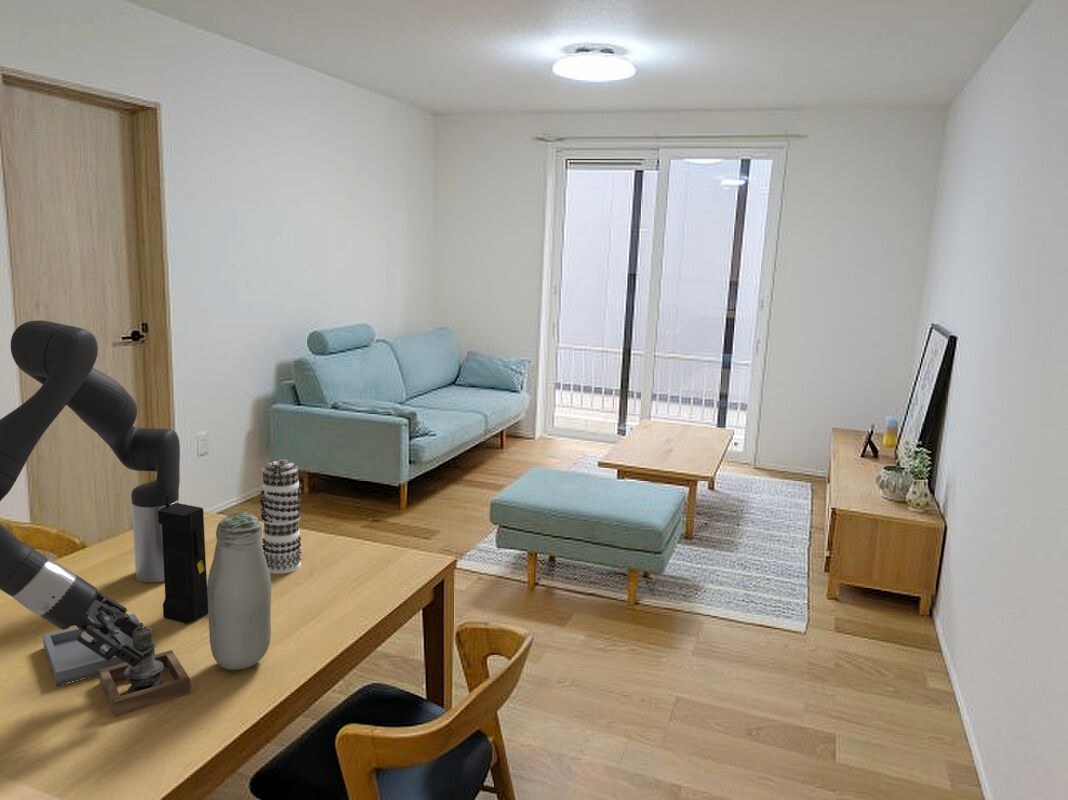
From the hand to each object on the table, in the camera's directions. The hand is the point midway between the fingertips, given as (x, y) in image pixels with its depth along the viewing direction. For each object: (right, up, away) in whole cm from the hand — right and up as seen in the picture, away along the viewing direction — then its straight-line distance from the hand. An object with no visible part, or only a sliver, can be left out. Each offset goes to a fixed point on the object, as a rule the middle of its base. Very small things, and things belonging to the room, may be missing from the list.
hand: (141, 648), depth 127 cm
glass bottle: (+13, -6, +10) cm, 17 cm away
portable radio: (-4, -2, +26) cm, 27 cm away
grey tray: (-13, -5, +11) cm, 18 cm away
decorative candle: (+7, +2, +51) cm, 52 cm away
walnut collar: (0, -7, +2) cm, 7 cm away
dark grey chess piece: (0, -7, +2) cm, 8 cm away
